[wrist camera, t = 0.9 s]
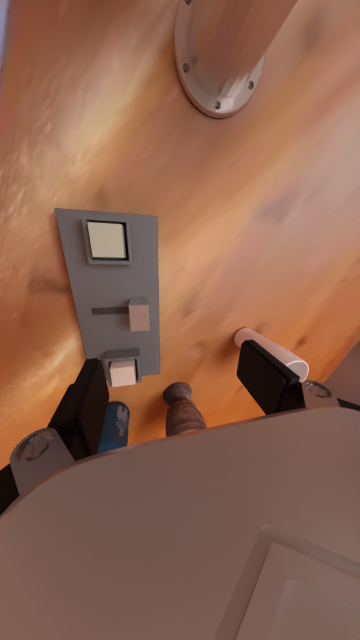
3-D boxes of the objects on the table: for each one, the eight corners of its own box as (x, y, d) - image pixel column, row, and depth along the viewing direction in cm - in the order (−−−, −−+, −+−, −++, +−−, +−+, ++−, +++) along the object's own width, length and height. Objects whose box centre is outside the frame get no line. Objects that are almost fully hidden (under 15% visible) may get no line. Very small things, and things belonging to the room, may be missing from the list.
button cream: (112, 358, 31) (109, 368, 29) (134, 356, 32) (133, 366, 30) (114, 375, 33) (112, 387, 30) (135, 373, 34) (135, 384, 31)
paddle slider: (130, 298, 29) (128, 305, 25) (147, 298, 30) (148, 304, 26) (132, 322, 31) (130, 331, 27) (148, 321, 31) (149, 330, 28)
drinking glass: (230, 350, 43) (272, 396, 29) (230, 326, 40) (276, 365, 26) (254, 345, 44) (305, 387, 30) (256, 321, 41) (313, 356, 27)
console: (63, 212, 26) (42, 202, 20) (155, 219, 28) (159, 211, 23) (94, 372, 37) (86, 393, 31) (158, 365, 40) (161, 383, 34)
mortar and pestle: (180, 415, 48) (204, 516, 29) (151, 411, 45) (158, 520, 27) (197, 384, 44) (236, 474, 26) (168, 377, 42) (189, 474, 24)
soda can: (99, 420, 42) (84, 479, 31) (101, 398, 40) (86, 454, 29) (127, 419, 44) (123, 475, 33) (131, 399, 42) (128, 451, 31)
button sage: (93, 225, 23) (87, 222, 21) (123, 227, 24) (121, 224, 21) (97, 256, 25) (92, 256, 22) (126, 257, 26) (124, 257, 23)
